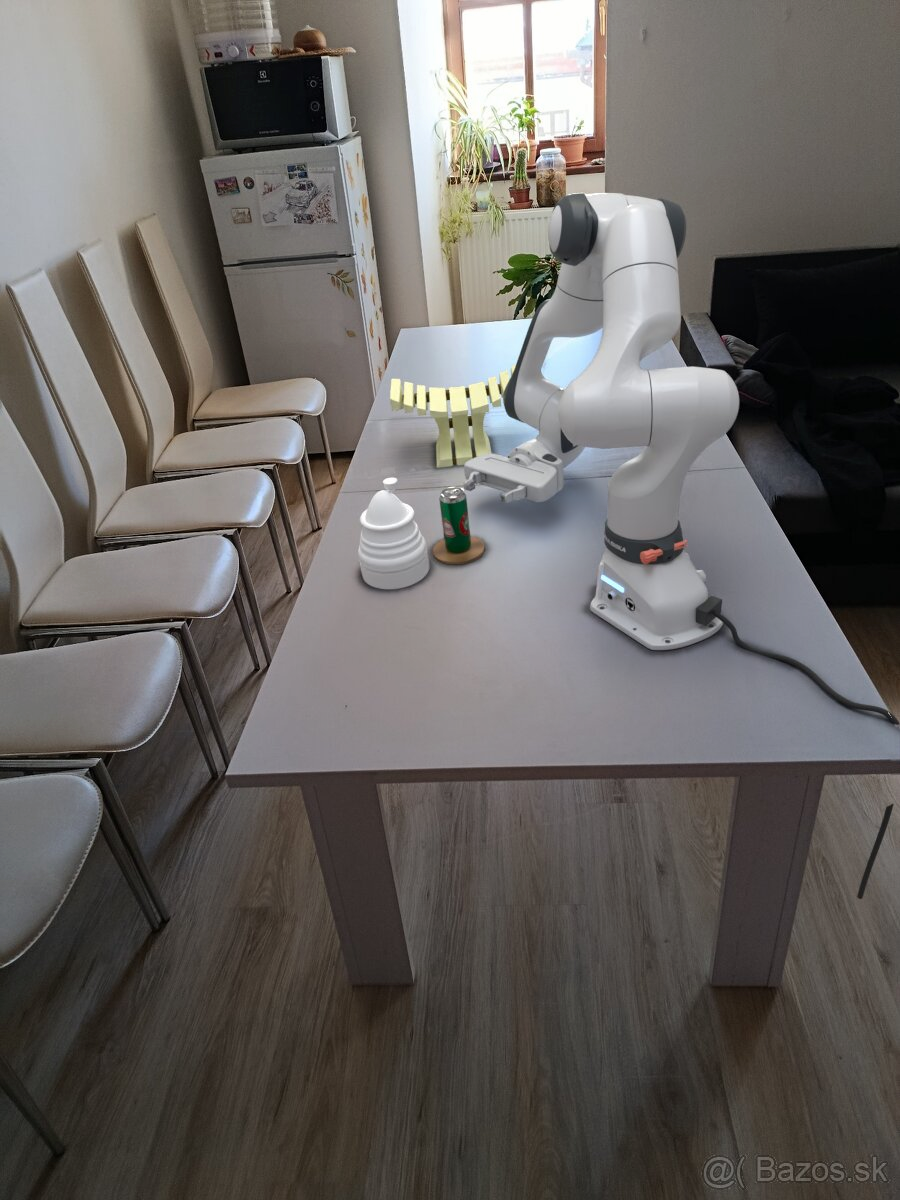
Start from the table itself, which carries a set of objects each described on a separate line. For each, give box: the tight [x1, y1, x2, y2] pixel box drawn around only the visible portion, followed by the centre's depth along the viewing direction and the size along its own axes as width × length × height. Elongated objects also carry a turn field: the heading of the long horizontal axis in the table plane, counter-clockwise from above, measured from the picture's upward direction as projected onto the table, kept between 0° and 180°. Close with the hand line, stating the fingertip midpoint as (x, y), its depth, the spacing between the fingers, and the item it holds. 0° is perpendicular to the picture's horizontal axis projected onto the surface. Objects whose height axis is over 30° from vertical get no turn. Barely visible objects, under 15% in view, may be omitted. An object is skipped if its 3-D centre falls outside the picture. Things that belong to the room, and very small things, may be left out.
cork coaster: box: [432, 535, 485, 566], centre depth 153 cm, size 10×10×1 cm
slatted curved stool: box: [389, 364, 516, 469], centre depth 186 cm, size 30×16×18 cm, turn 92°
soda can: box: [438, 486, 471, 553], centre depth 150 cm, size 5×5×12 cm
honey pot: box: [357, 477, 430, 590], centre depth 145 cm, size 13×13×18 cm
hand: (484, 492), depth 154 cm, fingers open, 8 cm apart
